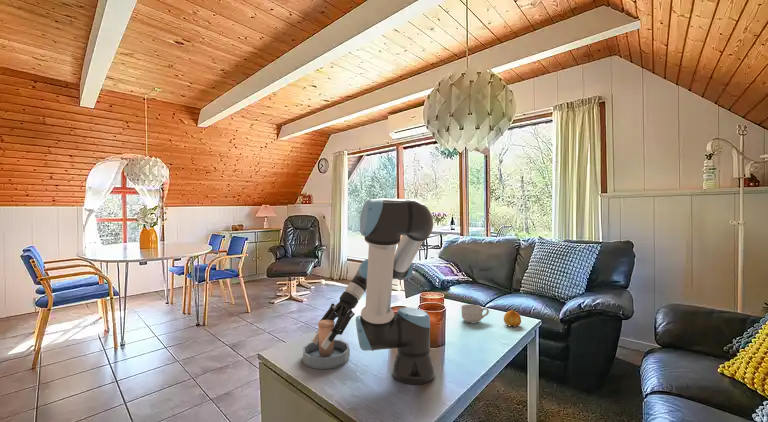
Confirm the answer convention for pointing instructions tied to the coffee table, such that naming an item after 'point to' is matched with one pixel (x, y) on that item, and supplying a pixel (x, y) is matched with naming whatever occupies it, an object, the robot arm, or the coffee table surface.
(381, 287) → the robot arm
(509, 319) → the fruit
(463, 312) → the teacup
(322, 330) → the terracotta jar
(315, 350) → the slate bowl
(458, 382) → the coffee table surface
